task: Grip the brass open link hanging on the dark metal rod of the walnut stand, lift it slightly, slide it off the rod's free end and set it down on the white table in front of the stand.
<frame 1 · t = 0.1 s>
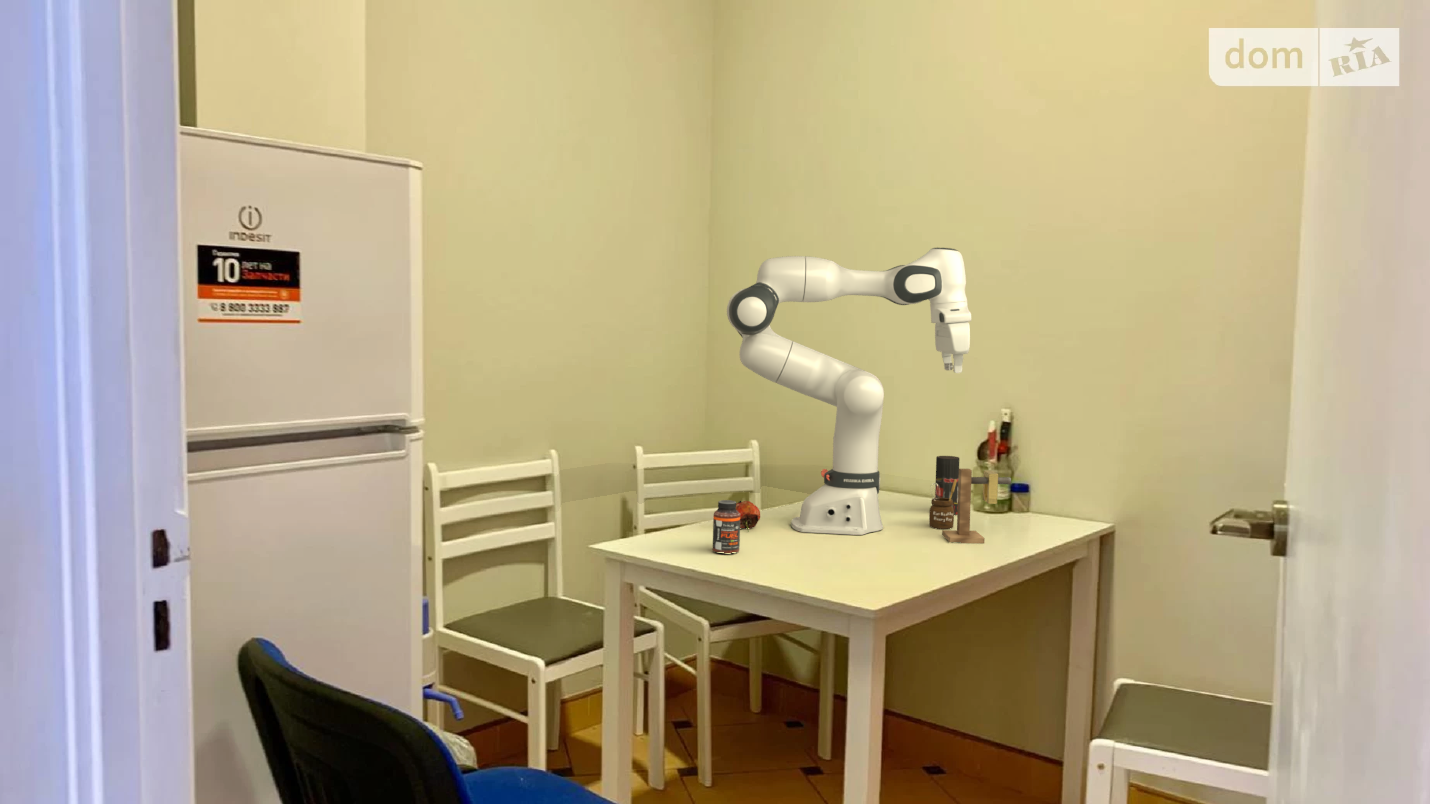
hand: (953, 371, 249), 39 cm above the table, tool pointing down, fingers open, 8 cm apart
supplement bottle: (726, 553, 226), on the table
utensil holder: (941, 528, 254), on the table
stand: (962, 539, 241), on the table
deodorant: (945, 514, 271), on the table
link: (989, 501, 240), point 9 cm above the table, touching stand
pomegranate: (744, 530, 249), on the table
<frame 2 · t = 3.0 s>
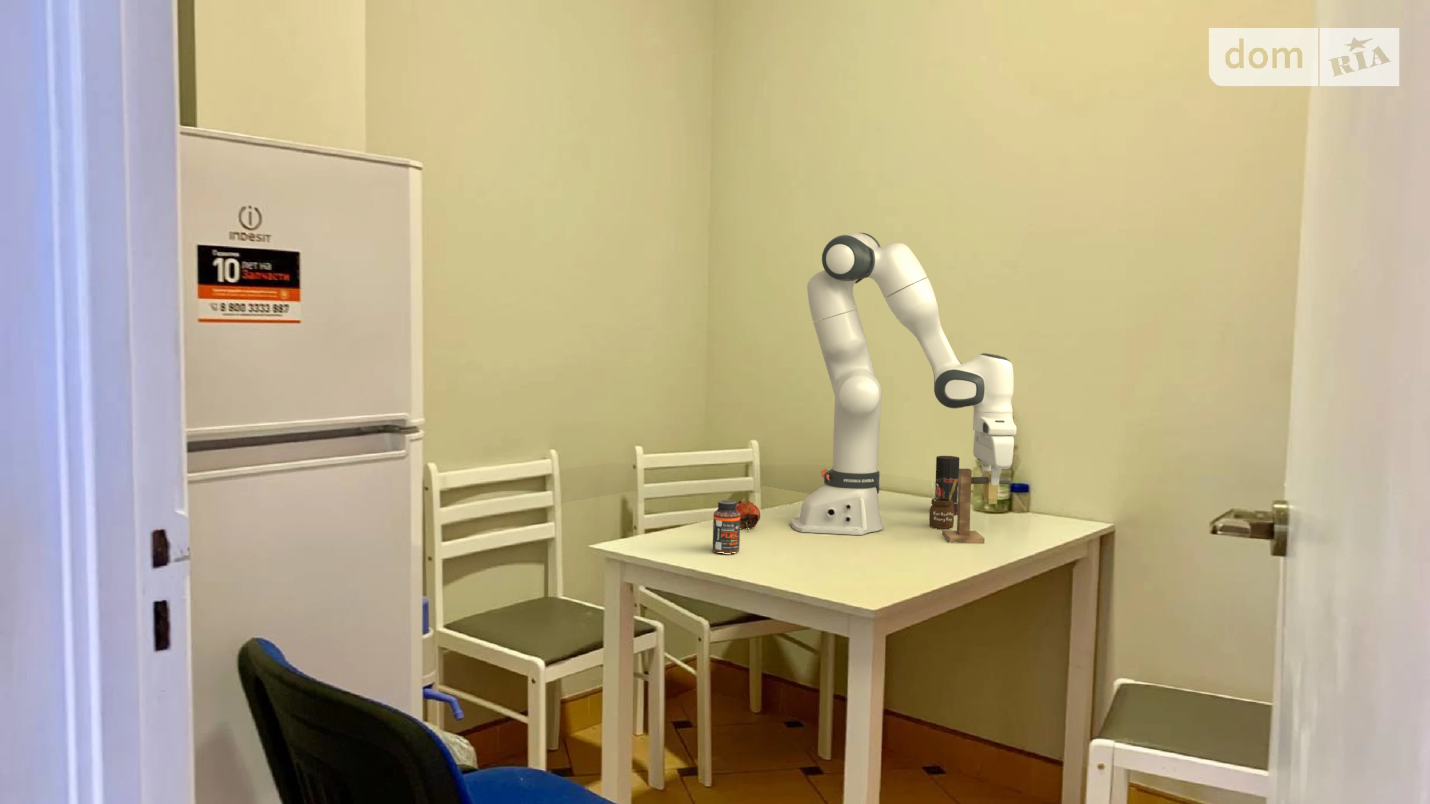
hand: (990, 482, 240), 14 cm above the table, tool pointing down, fingers closed on link, 5 cm apart
link: (989, 501, 240), point 9 cm above the table, touching gripper, stand
everything else where it was.
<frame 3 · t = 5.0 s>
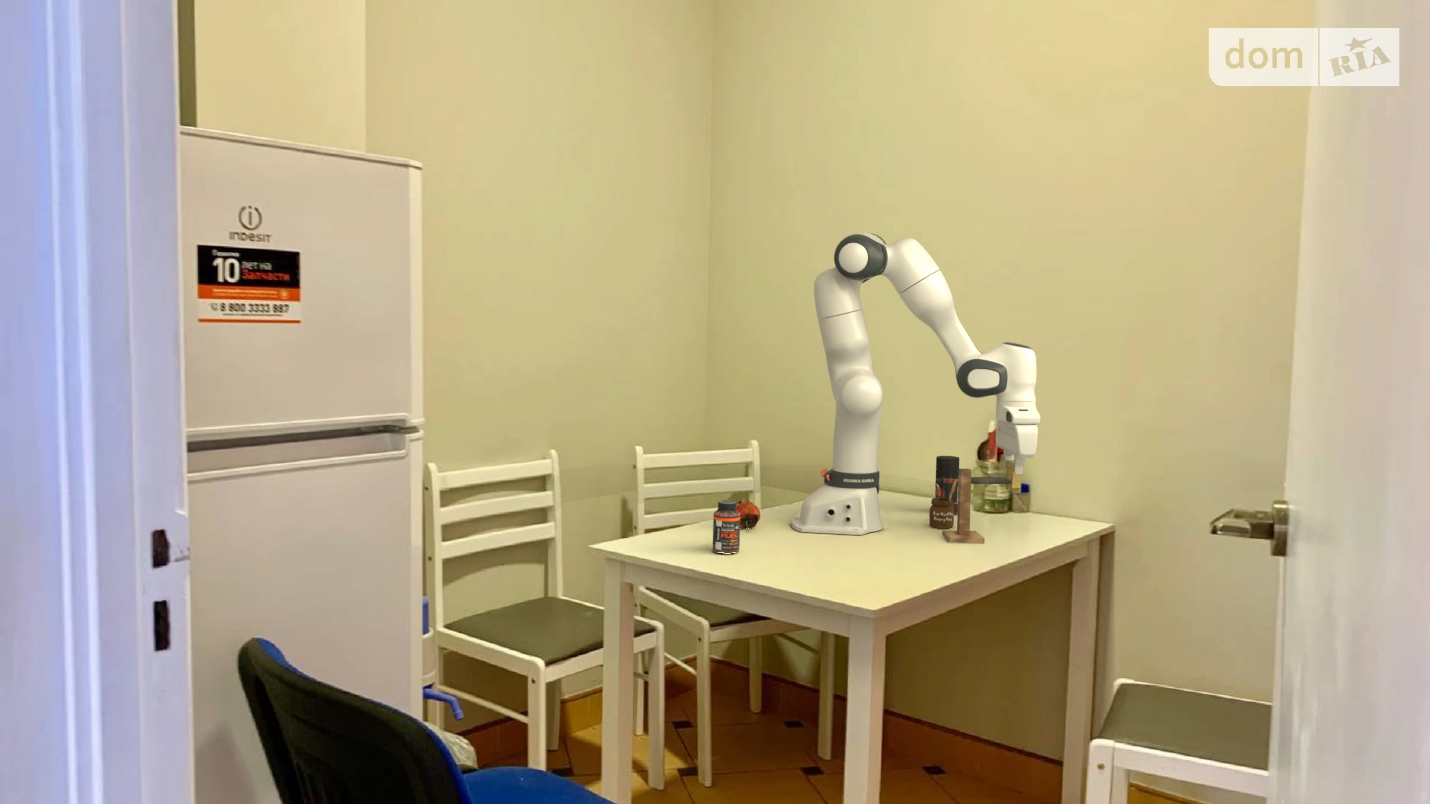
hand: (1013, 471, 239), 16 cm above the table, tool pointing down, fingers closed on link, 5 cm apart
link: (1013, 490, 240), point 12 cm above the table, touching gripper
everything else where it was.
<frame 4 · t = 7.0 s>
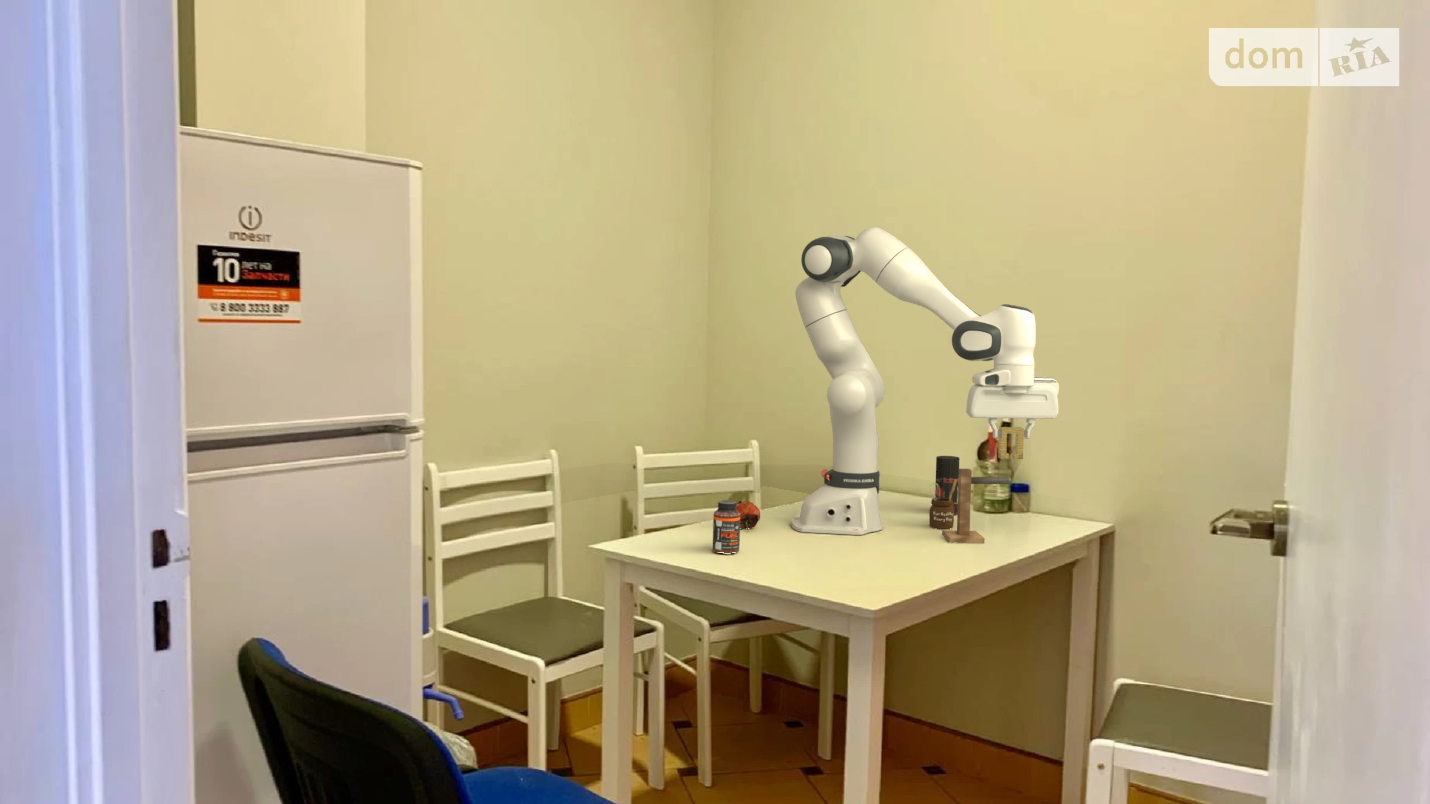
hand: (1011, 438, 232), 25 cm above the table, tool pointing down, fingers closed on link, 5 cm apart
link: (1010, 458, 232), point 20 cm above the table, touching gripper
everything else where it was.
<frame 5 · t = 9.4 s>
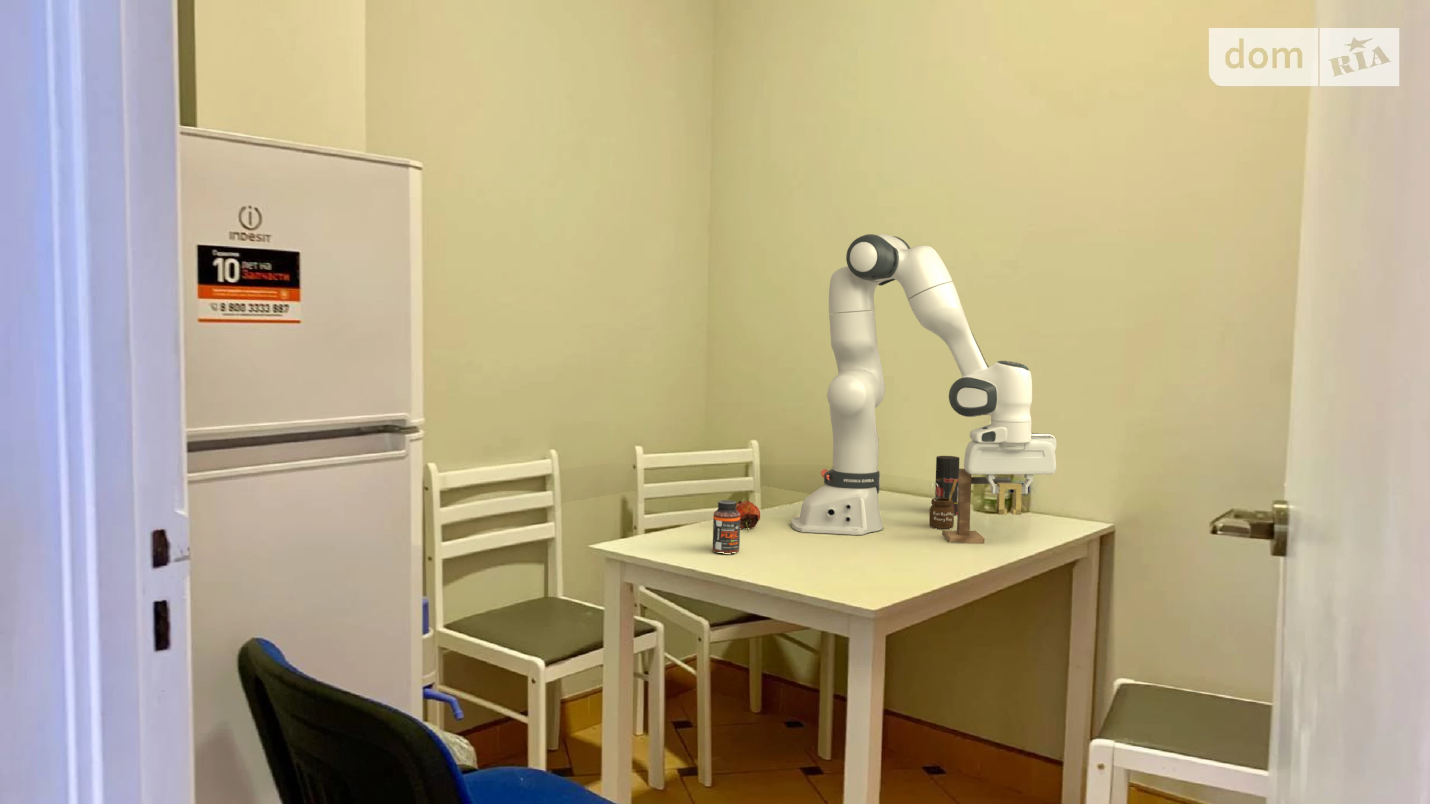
hand: (1009, 493, 232), 12 cm above the table, tool pointing down, fingers closed on link, 5 cm apart
link: (1008, 513, 233), point 8 cm above the table, touching gripper
everything else where it was.
when the fingers open (6 cm above the table, at t = 11.1 s): link drops 1 cm, on the table.
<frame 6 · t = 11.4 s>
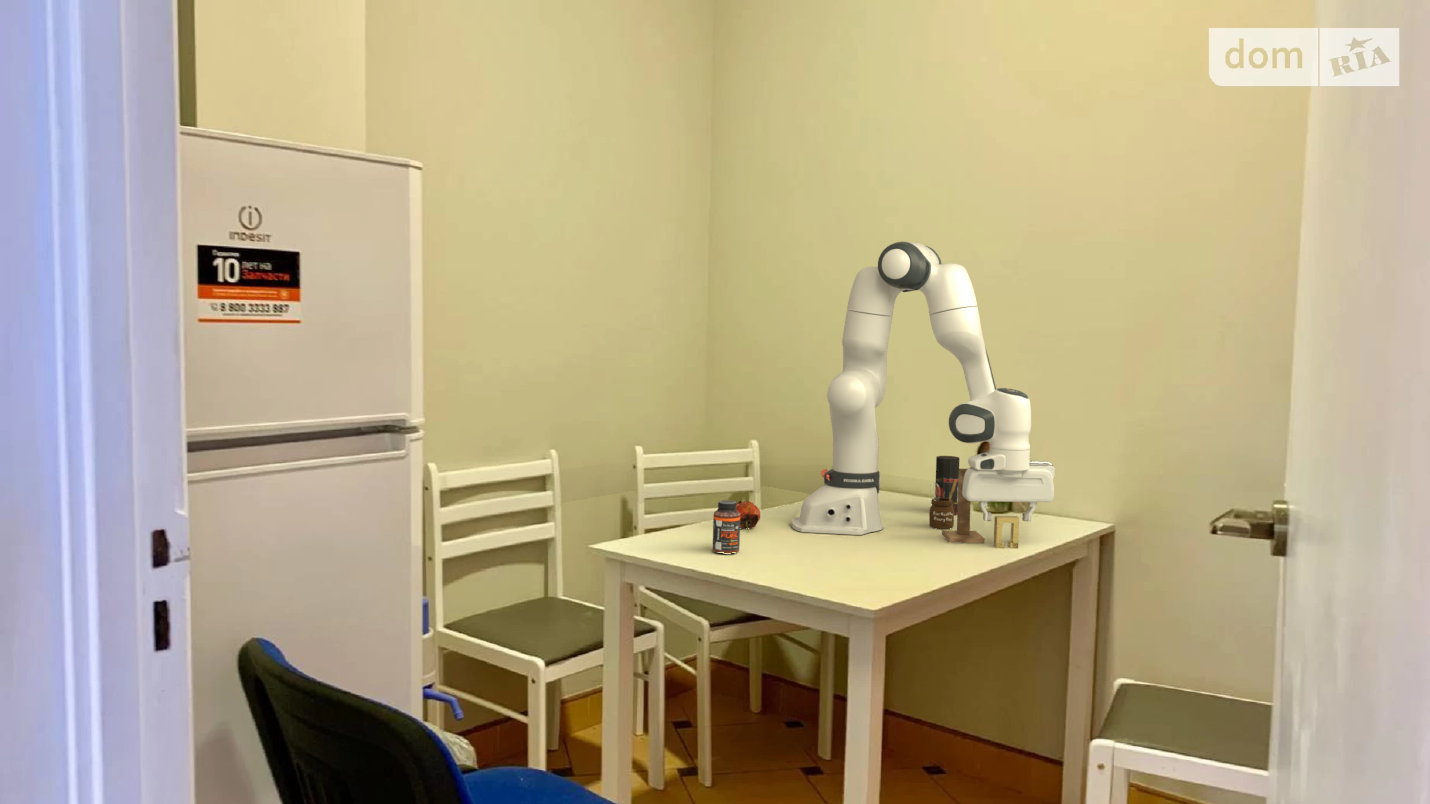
hand: (1006, 520, 233), 6 cm above the table, tool pointing down, fingers open, 8 cm apart
link: (1005, 547, 234), on the table
everything else where it was.
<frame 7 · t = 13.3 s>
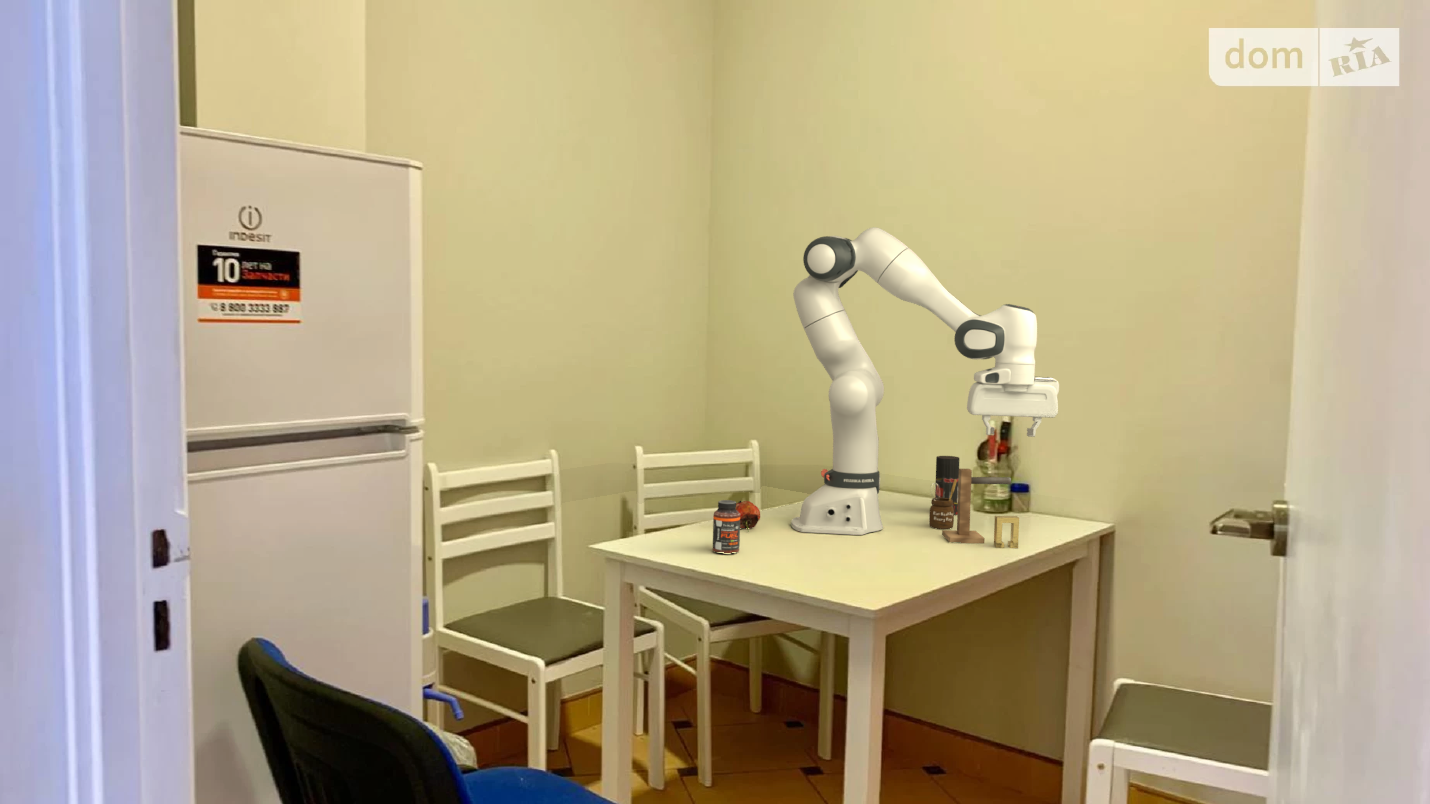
hand: (1010, 435, 236), 25 cm above the table, tool pointing down, fingers open, 8 cm apart
nothing on the table moved.
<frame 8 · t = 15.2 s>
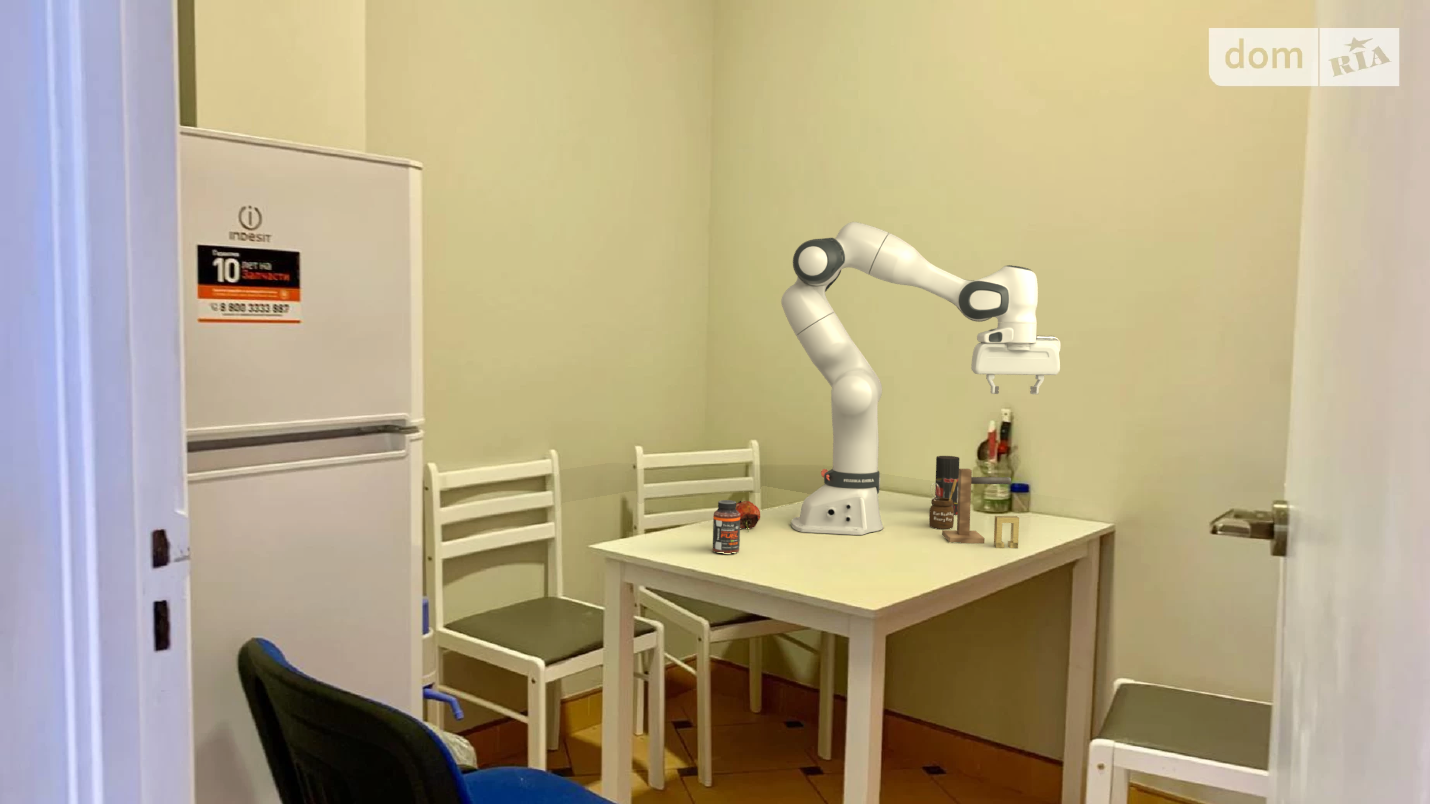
hand: (1014, 393, 242), 34 cm above the table, tool pointing down, fingers open, 8 cm apart
nothing on the table moved.
at the end: link inside the target area (0.5 cm from its centre), on the table; link touching table; the gripper is holding nothing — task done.
